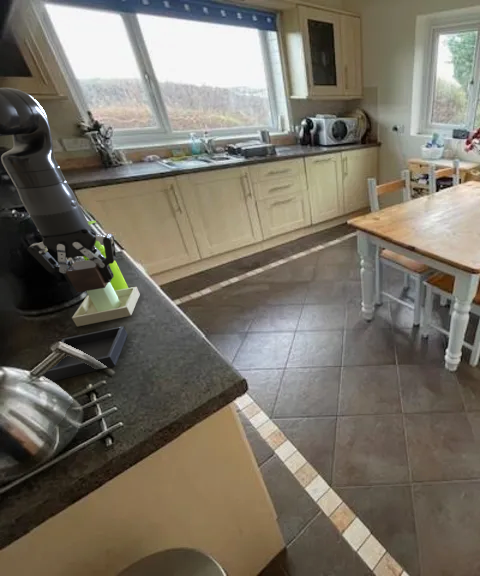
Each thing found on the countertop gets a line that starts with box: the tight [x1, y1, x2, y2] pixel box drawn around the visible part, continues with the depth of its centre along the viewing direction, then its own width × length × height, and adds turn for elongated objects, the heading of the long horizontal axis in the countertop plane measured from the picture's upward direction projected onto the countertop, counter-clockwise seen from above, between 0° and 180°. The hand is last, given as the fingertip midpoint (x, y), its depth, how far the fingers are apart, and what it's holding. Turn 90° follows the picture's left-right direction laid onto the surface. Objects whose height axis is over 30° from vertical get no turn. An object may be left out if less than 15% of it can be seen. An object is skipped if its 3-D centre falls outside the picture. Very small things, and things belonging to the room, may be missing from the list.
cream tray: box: [71, 286, 141, 327], centre depth 85 cm, size 11×11×3 cm
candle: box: [86, 282, 121, 312], centre depth 83 cm, size 5×5×8 cm
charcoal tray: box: [44, 325, 128, 382], centre depth 69 cm, size 11×11×3 cm
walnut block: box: [66, 260, 108, 293], centre depth 71 cm, size 5×5×5 cm
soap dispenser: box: [82, 220, 129, 291], centre depth 89 cm, size 6×7×20 cm
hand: (93, 283), depth 72 cm, fingers closed on walnut block, 5 cm apart
